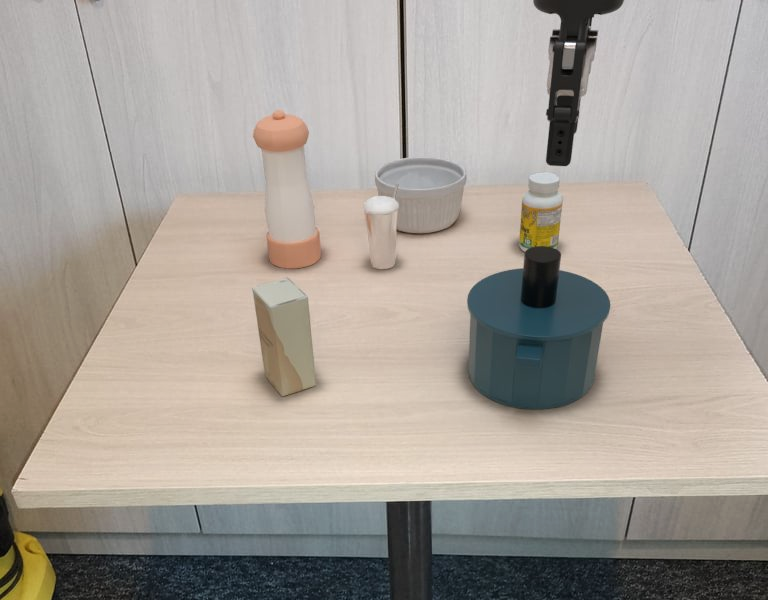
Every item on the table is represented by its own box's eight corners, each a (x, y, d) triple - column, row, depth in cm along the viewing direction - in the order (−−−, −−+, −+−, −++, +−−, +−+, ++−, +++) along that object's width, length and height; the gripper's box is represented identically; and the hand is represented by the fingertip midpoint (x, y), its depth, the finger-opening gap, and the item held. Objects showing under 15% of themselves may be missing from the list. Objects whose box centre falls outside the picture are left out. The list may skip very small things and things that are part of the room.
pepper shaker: (262, 252, 115) (241, 107, 102) (310, 241, 117) (296, 98, 104) (279, 273, 110) (259, 124, 97) (328, 261, 112) (316, 113, 99)
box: (264, 375, 91) (249, 285, 84) (298, 364, 93) (287, 274, 85) (283, 398, 88) (269, 306, 80) (318, 386, 89) (308, 294, 82)
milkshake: (411, 261, 111) (410, 188, 104) (383, 275, 108) (380, 201, 102) (387, 251, 113) (385, 179, 107) (360, 265, 111) (355, 191, 104)
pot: (596, 335, 95) (607, 267, 89) (589, 431, 82) (601, 358, 76) (481, 325, 98) (484, 259, 92) (456, 417, 84) (458, 346, 78)
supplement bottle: (561, 254, 111) (570, 183, 104) (523, 257, 111) (529, 186, 104) (552, 237, 115) (559, 168, 108) (514, 240, 115) (520, 171, 108)
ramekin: (460, 199, 126) (461, 153, 121) (469, 235, 116) (471, 187, 112) (375, 204, 126) (373, 158, 121) (377, 240, 116) (375, 191, 112)
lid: (610, 282, 88) (619, 227, 84) (606, 352, 78) (617, 294, 74) (477, 272, 91) (479, 219, 87) (456, 339, 81) (458, 282, 76)
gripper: (631, -44, 60) (598, 178, 71) (633, -74, 70) (605, 125, 81) (528, -45, 61) (512, 174, 72) (545, -73, 71) (529, 122, 82)
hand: (561, 148), depth 76 cm, fingers open, 8 cm apart
